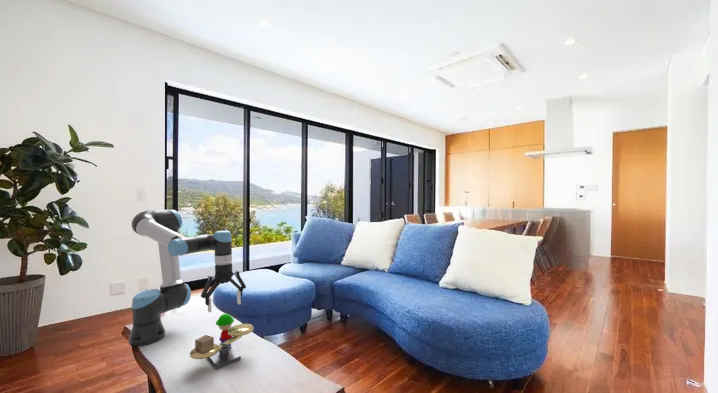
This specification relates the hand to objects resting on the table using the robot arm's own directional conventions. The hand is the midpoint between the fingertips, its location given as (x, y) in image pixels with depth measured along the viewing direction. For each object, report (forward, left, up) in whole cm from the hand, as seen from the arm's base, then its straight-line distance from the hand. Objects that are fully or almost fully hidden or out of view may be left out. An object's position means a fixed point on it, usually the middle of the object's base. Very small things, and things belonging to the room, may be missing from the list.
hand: (224, 307), depth 147 cm
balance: (+12, -5, -18) cm, 22 cm away
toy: (0, 0, -18) cm, 18 cm away
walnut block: (+12, -13, -12) cm, 21 cm away
